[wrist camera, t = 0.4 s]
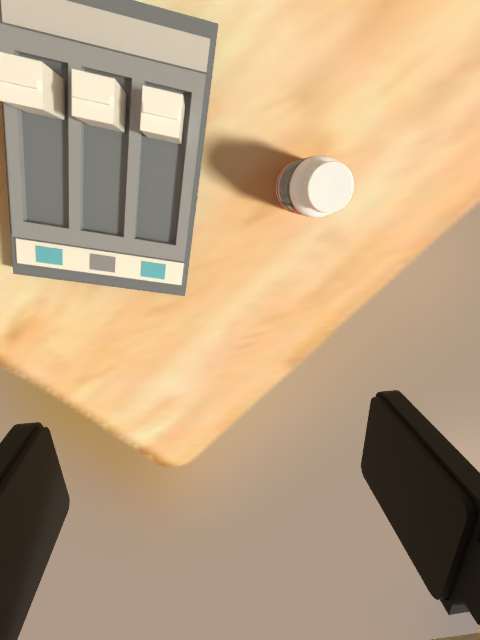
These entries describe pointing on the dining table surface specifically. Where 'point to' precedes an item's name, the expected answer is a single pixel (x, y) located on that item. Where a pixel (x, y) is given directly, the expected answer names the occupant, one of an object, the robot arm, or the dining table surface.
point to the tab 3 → (162, 114)
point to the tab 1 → (31, 86)
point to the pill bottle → (314, 186)
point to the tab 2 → (98, 101)
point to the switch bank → (106, 145)
